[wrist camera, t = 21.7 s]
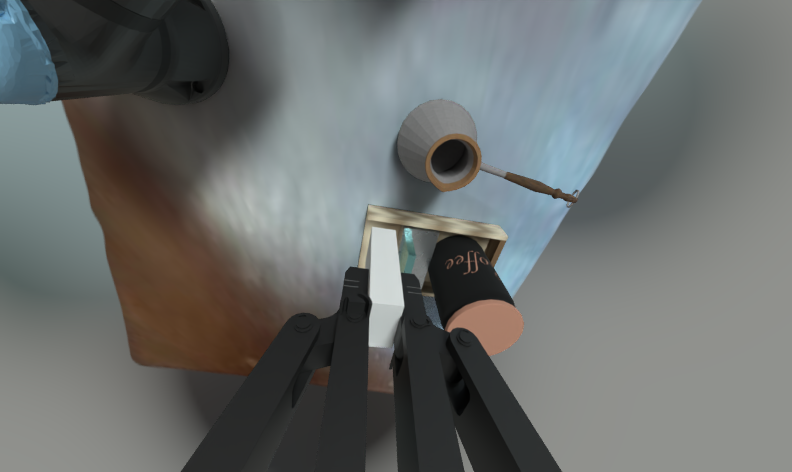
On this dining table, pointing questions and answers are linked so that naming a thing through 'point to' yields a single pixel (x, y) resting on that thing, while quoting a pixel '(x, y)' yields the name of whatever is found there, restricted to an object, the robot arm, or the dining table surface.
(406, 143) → the coffee pot
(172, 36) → the robot arm
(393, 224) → the channel
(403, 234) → the teal piece
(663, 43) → the dining table surface
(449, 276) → the coffee jar
